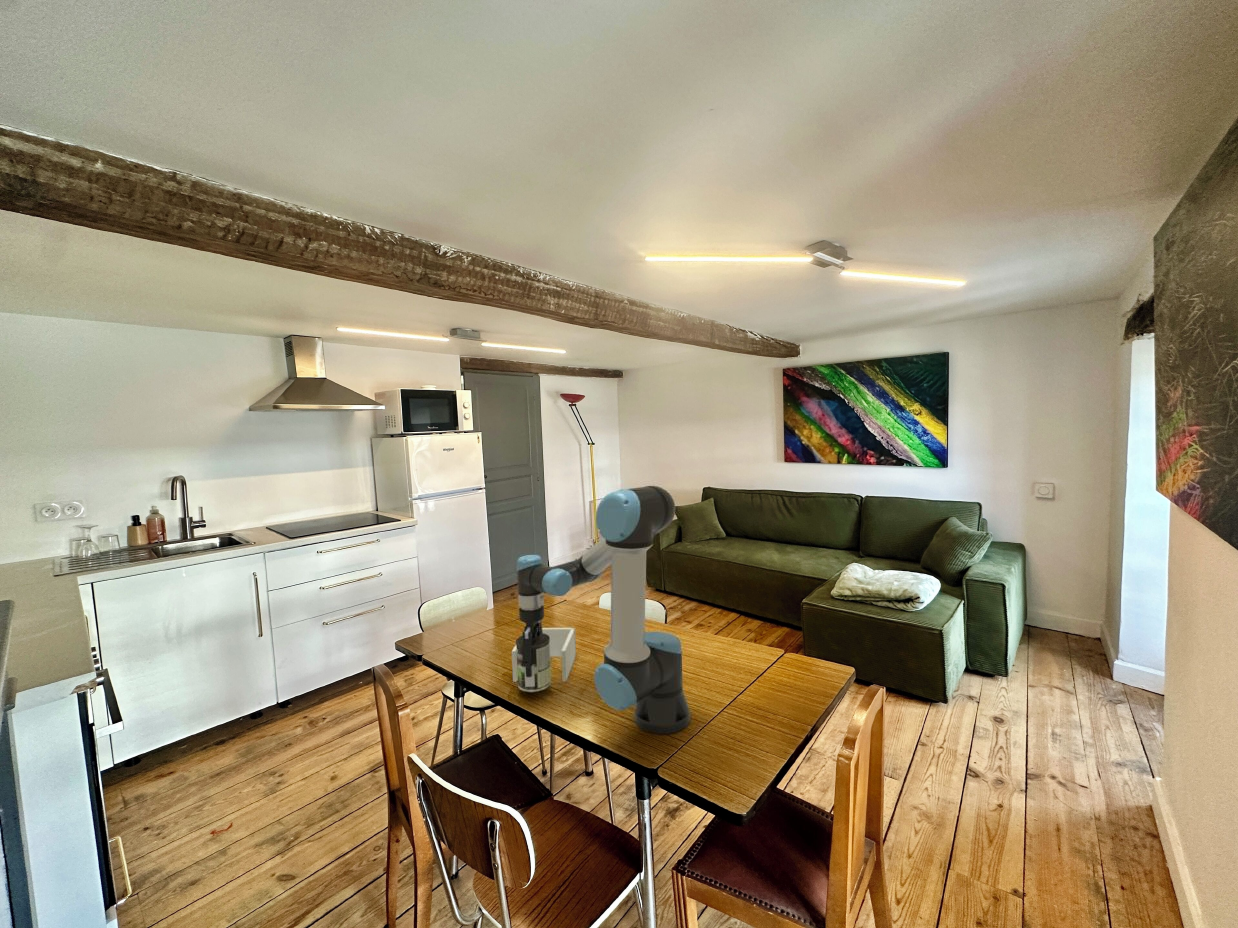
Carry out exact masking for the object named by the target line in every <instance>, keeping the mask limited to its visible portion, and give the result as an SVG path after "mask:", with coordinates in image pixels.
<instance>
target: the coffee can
mask: <svg viewBox="0 0 1238 928" xmlns="http://www.w3.org/2000/svg"><path fill="white" fill-rule="evenodd" d="M532 639H533V638H532ZM549 641H550V637H549V636H548V635H547V634H544V633H540V635H539V636H537V638H536V641H535V643H534V645H532V650H533V664H534V676H535V686H534V687H525V668H524V667H522V666H521V664H522V650H523V635H522V634H521V636H519V637H517V638H516V640H515V646H516V647H517V669H518V680H517V687H518V689H519V690H520V691H523V692H527V693H536V692H541V691H544V690H546V689H547V688H548V687H550V686H551V684H552V675H551V657H550V644H549Z"/></svg>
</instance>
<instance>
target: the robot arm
mask: <svg viewBox="0 0 1238 928" xmlns="http://www.w3.org/2000/svg"><path fill="white" fill-rule="evenodd" d="M675 515H676V503H675V501H674V499H673V496H672V495H671V494H670V493H669V492H668V491H667V490H666V489H664V488H663V487H660V486H656V485H648V486H647V485H646V486H642V487H641V486H640V487H633V488H625V489H623V488H622V489H619V490H616V491H612V492H610V493H608V494H606V495H605V496H603V498H602V499H601V500H600V502H599V503H598V505H597V508H596V514H595V524H596V528H597V529H598V530H599V534H600V536H601V537H602V538H601V539H600V540H598V541H597V543H595V544H593V546H592V547H590V548H589V549H588V550H587V551H586V552H584V554H582V555H581V556H580V557H578V558H577V559H575V560H572V561H567V562H566V563H561V564H558V565H554V566H547V565H544V564H543V559H542V557H541V556H540V555H538V554H528V555H522V556H520V557H518V558H517V561H516V564H517V565H516V578H517V592H518V593H517V594H518V595H517V596H518V600H517V601H518V607H519V609H518V619H519V621H520V622H522V623H524V624H525V626H524V628H523V629H524V630H523V631H522V634H521V636H522V635H523V650H522V664H521V666H522V667H524V668H525V687H534V686H535V676H534V664H533V650H532V645H534V643H535V641H536V638H537V636H539V635H540V633H543V631H542V628H543V627H542V626H543V625H542V621H543V620H544V618H545V607H544V599H545V598H546V596H545V595H544V594H546V595H550V596H553V597H563V596H566V595H567V594H568V593H569V592H570V590H571V589H572V588H575V587H577V586H580V585H583V584H587V583H592V582H594V581H596V580H598V579H599V578H600V577H601V576H602V573H603V571H605V569H607V568H608V567H611V570H610V572H611V573H610V580H611V581H610V630H609V631H610V639H609V640H610V641H609V643H608V644H606V645H605V646H604V649H603V650H604V652H603V663H600V664H599V665H598V666H597V668H596V669H595V671H594V674H593V678H594V685H595V689H596V691H597V693H598V695H599V696H600V698H601V700H602V701H603V702H604V703H605V704H606V705H607V706H609V707H610V708H612V709H613V710H617V711H625V710H627V709H628V708H630V707H634V706H635V707H634V721H635V724H636V725H637V726H638V727H639V728H640V729H642V730H643V731H645V732H648V733H651V734H656V735H671V734H675V733H678V732H681V731H683V730H684V729H685V728H686V727H688V726H689V724H690V721H691V712H690V711H691V710H690V707H689V704H688V701H687V699H686V696H685V693H684V690H683V684H684V683H683V649H682V642H681V640H680V639H679V637H678V636H677V635H675V634H671V633H668V632H663V631H647V632H645V631H646V630H645V628H646V584H647V581H646V580H647V579H646V578H647V551H648V550H649V549H651V547H652V546H654V543H653V542H654V537H655V536H656V535H657V534H659V533H660V532H661V531H663V530H664V529H665V528H667V527H668V526H669V525H670V524H672V521H673V520H674V518H675ZM532 638H533V639H532Z"/></svg>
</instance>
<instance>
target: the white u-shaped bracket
mask: <svg viewBox="0 0 1238 928" xmlns="http://www.w3.org/2000/svg"><path fill="white" fill-rule="evenodd" d="M542 631H543V633H544V634H547V635H548V636H549V637H550V641H549V644H550V658H557V657H558V658H559V657H561V674H562V675H561V676H562V677H561V678H562V682H563V683H565V682H567V681H568V679H569V675H570V674H571V669H572V667H573V665H574V662H575V659H576V656H577V649H576V648H577V646H576V645H577V644H576V628H575V627H542ZM511 666H512V682H513V683H514V682H515V683H516V682H517V683H518V669H517V647H516V645H514V647H513V649H512V650H511Z"/></svg>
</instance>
